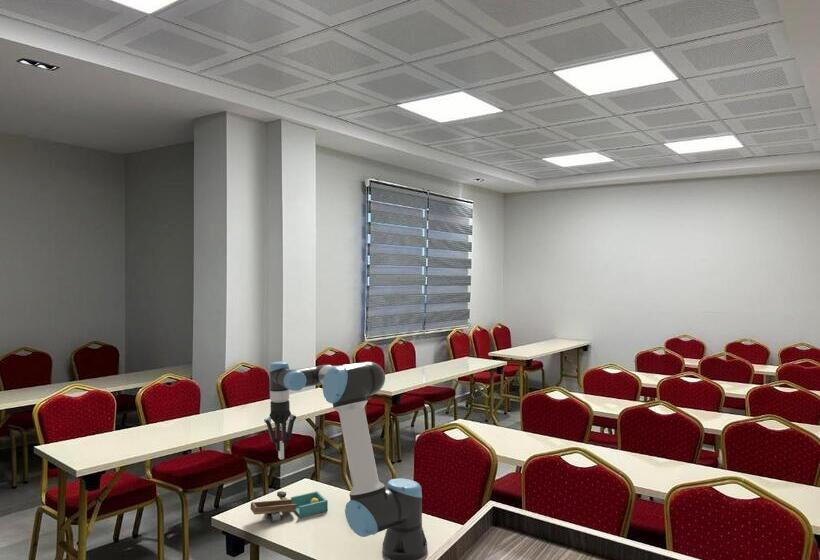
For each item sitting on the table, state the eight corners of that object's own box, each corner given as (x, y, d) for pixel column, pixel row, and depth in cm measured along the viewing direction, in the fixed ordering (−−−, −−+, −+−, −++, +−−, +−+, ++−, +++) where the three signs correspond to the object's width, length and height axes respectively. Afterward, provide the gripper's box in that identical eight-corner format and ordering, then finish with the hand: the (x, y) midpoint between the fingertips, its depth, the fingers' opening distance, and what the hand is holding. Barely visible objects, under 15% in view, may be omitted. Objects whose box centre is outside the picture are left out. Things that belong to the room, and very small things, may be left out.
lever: (297, 513, 215) (298, 504, 215) (254, 518, 206) (255, 508, 206) (283, 498, 229) (284, 489, 229) (242, 501, 221) (243, 492, 221)
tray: (327, 510, 218) (327, 500, 218) (300, 517, 213) (299, 507, 213) (317, 500, 228) (317, 491, 228) (290, 507, 222) (290, 497, 222)
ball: (311, 507, 219) (319, 507, 221) (312, 499, 219) (320, 499, 221) (308, 504, 222) (316, 504, 223) (309, 496, 222) (317, 496, 224)
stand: (282, 521, 210) (282, 512, 210) (271, 523, 208) (271, 515, 208) (274, 511, 218) (274, 503, 218) (264, 514, 216) (264, 505, 216)
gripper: (292, 396, 232) (293, 452, 232) (261, 400, 225) (262, 458, 226) (298, 399, 226) (299, 457, 226) (266, 404, 219) (268, 464, 219)
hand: (281, 458), depth 226 cm, fingers closed
